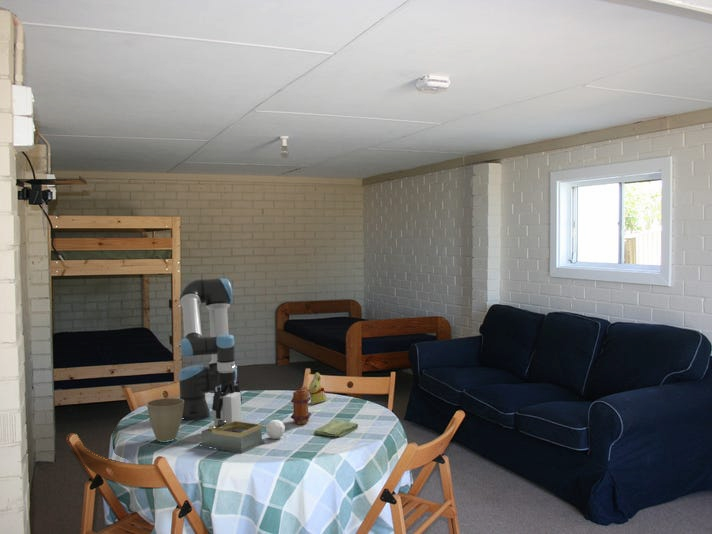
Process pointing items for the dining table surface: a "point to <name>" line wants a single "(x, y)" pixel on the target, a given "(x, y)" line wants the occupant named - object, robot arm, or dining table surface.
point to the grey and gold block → (233, 436)
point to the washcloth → (336, 428)
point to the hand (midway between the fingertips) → (228, 422)
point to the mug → (301, 406)
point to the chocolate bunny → (316, 390)
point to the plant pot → (165, 417)
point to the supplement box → (230, 408)
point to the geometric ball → (275, 429)
